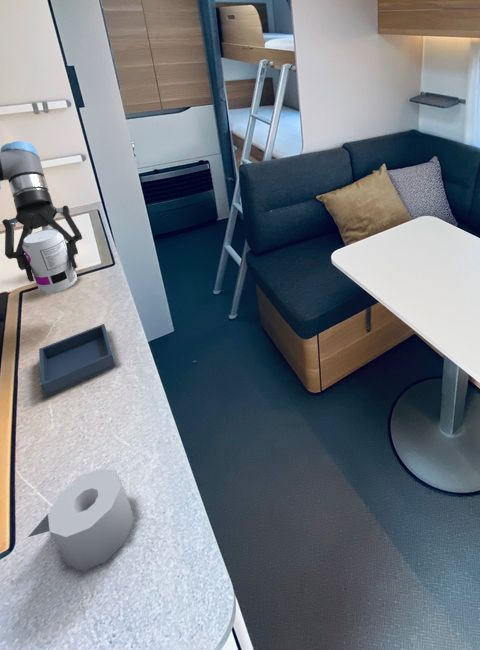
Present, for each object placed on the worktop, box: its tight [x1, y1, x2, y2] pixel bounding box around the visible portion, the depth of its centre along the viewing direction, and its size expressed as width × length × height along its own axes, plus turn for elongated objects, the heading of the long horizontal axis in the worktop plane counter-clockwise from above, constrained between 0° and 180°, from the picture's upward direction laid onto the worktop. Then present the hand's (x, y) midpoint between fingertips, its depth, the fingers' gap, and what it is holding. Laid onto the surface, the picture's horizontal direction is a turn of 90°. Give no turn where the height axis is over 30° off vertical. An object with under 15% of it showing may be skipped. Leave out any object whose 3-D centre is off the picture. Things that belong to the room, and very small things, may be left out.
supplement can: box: [22, 229, 78, 295], centre depth 105 cm, size 8×8×15 cm
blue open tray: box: [38, 323, 117, 398], centre depth 97 cm, size 13×13×4 cm
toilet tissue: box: [27, 467, 135, 572], centre depth 63 cm, size 9×13×9 cm
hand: (53, 273), depth 103 cm, fingers closed on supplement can, 8 cm apart
